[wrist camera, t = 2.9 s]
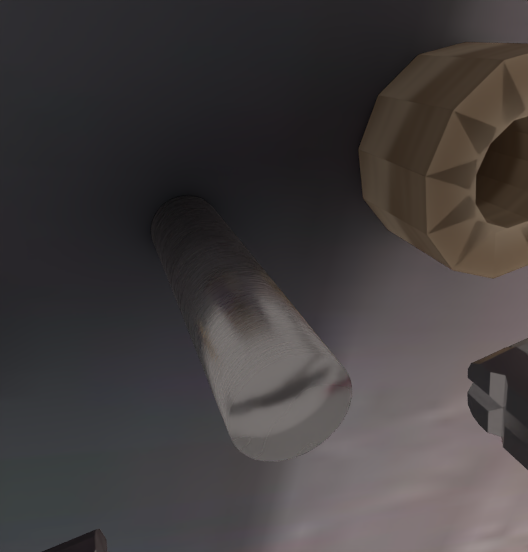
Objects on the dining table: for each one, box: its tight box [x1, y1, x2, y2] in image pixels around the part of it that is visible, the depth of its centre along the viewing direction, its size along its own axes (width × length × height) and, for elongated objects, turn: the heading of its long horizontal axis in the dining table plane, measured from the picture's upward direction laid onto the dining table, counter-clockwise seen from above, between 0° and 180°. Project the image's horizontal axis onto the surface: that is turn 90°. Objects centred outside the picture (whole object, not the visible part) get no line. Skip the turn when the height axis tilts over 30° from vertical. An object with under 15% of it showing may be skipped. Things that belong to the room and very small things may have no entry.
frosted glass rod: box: [151, 196, 352, 461], centre depth 16 cm, size 3×3×12 cm
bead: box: [358, 42, 528, 278], centre depth 22 cm, size 9×9×5 cm
